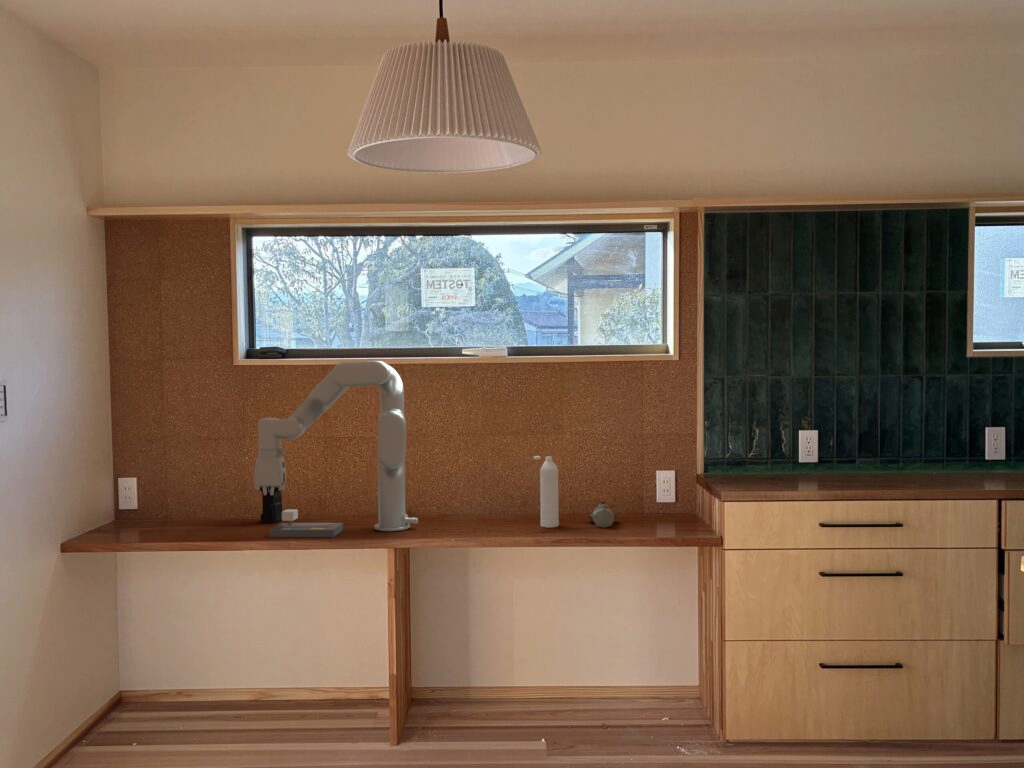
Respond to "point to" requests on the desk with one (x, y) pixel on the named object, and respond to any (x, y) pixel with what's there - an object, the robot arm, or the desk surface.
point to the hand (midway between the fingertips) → (269, 506)
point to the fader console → (306, 530)
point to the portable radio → (272, 509)
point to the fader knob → (289, 515)
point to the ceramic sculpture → (602, 515)
